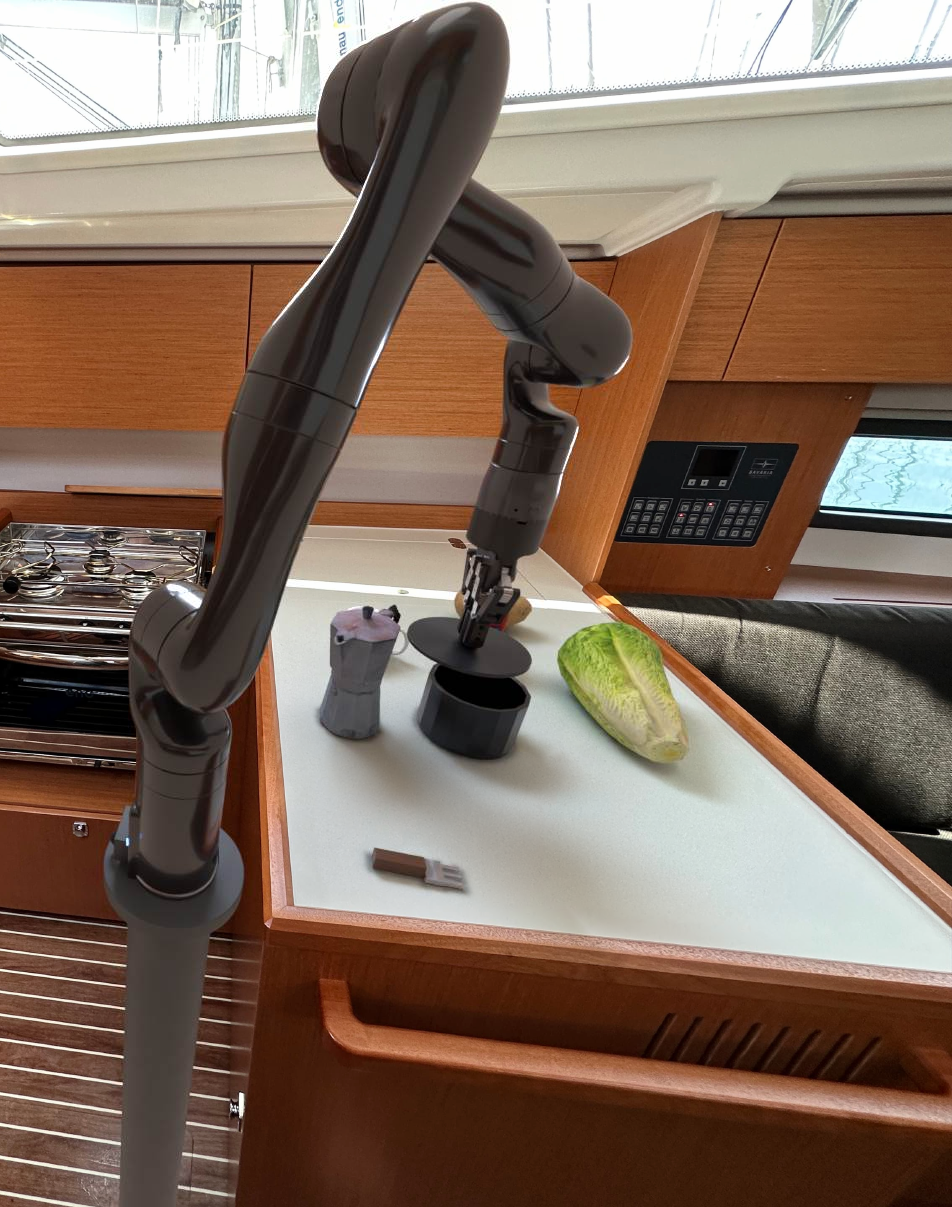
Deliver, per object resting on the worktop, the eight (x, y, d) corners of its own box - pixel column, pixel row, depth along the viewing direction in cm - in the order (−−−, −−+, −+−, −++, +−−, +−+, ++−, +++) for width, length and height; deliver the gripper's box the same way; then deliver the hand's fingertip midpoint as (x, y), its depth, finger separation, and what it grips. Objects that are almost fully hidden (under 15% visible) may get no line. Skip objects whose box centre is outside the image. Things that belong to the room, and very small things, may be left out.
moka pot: (292, 724, 92) (313, 607, 83) (347, 687, 102) (371, 578, 93) (348, 757, 86) (377, 635, 77) (401, 714, 96) (433, 600, 86)
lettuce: (702, 793, 86) (586, 781, 89) (631, 677, 105) (538, 670, 109) (750, 723, 78) (620, 713, 81) (664, 611, 97) (562, 606, 100)
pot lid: (415, 671, 72) (427, 629, 69) (398, 617, 84) (408, 580, 82) (546, 691, 69) (564, 649, 67) (509, 632, 82) (522, 595, 79)
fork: (373, 872, 69) (375, 862, 68) (370, 852, 71) (373, 843, 71) (462, 890, 67) (466, 880, 67) (457, 870, 70) (461, 860, 69)
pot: (424, 750, 88) (439, 702, 84) (410, 698, 99) (423, 654, 96) (524, 767, 86) (544, 718, 82) (498, 711, 97) (514, 666, 93)
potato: (531, 643, 117) (545, 606, 114) (454, 634, 119) (465, 597, 116) (514, 619, 126) (526, 584, 122) (442, 611, 128) (452, 576, 124)
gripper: (462, 486, 75) (426, 611, 83) (494, 521, 63) (448, 663, 71) (528, 493, 74) (486, 619, 81) (574, 530, 62) (518, 674, 69)
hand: (469, 639), depth 76 cm, fingers closed on pot lid, 2 cm apart
